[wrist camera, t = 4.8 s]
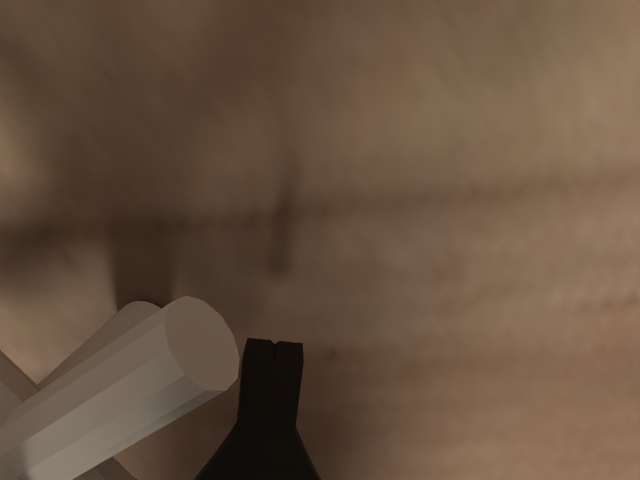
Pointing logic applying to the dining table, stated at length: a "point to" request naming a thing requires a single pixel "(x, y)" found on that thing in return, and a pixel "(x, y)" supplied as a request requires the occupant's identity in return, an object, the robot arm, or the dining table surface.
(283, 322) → the dining table surface
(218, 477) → the robot arm
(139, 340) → the pipe connector
